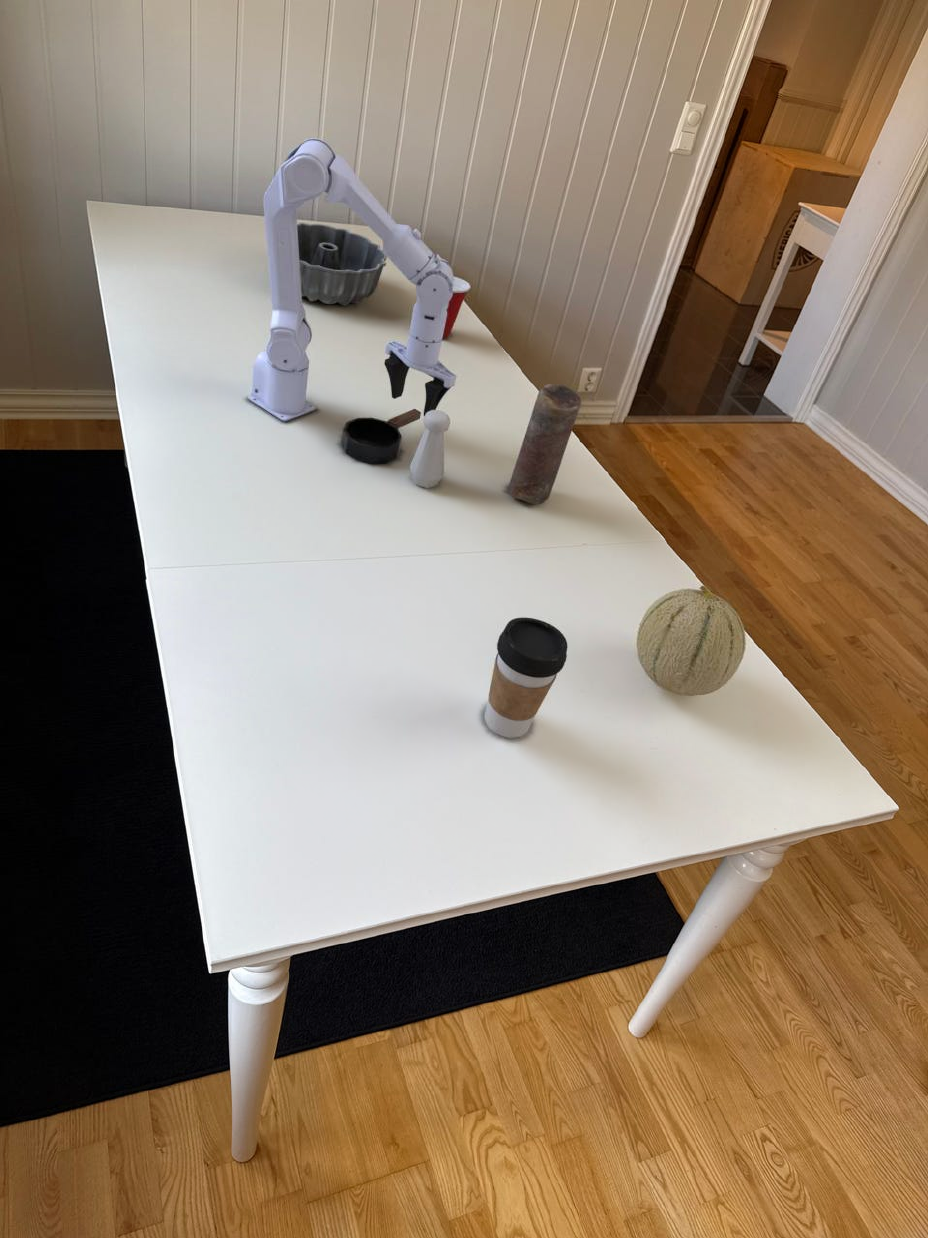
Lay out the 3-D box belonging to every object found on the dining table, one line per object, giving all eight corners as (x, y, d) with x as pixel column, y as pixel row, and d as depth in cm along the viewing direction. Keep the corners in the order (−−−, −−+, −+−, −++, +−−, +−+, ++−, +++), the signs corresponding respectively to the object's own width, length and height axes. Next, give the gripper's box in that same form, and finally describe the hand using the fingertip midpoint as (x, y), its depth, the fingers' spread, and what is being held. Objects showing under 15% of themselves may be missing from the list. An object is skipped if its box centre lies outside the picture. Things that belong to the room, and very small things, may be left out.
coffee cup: (472, 693, 115) (498, 609, 105) (534, 699, 117) (565, 616, 107) (477, 743, 109) (505, 658, 99) (542, 748, 110) (576, 665, 101)
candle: (553, 494, 156) (586, 393, 143) (542, 514, 150) (576, 410, 137) (514, 479, 157) (543, 377, 144) (501, 498, 151) (530, 394, 138)
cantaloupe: (656, 725, 118) (698, 645, 108) (603, 649, 127) (638, 570, 117) (741, 707, 124) (788, 631, 114) (685, 637, 133) (724, 560, 123)
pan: (372, 470, 150) (375, 451, 147) (330, 443, 153) (332, 424, 151) (435, 440, 161) (438, 422, 159) (394, 416, 165) (397, 398, 162)
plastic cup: (451, 323, 202) (462, 271, 194) (466, 345, 195) (477, 292, 187) (407, 320, 198) (415, 267, 190) (419, 342, 191) (429, 288, 183)
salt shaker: (436, 494, 148) (451, 427, 140) (404, 485, 148) (416, 417, 140) (444, 477, 153) (459, 411, 144) (412, 468, 153) (425, 401, 144)
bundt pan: (403, 298, 207) (410, 256, 200) (332, 325, 188) (337, 279, 182) (317, 257, 215) (321, 215, 208) (240, 279, 196) (242, 233, 190)
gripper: (472, 347, 150) (456, 417, 159) (408, 313, 155) (396, 383, 164) (447, 357, 145) (432, 428, 154) (382, 321, 150) (371, 392, 159)
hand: (412, 406), depth 158 cm, fingers open, 7 cm apart
